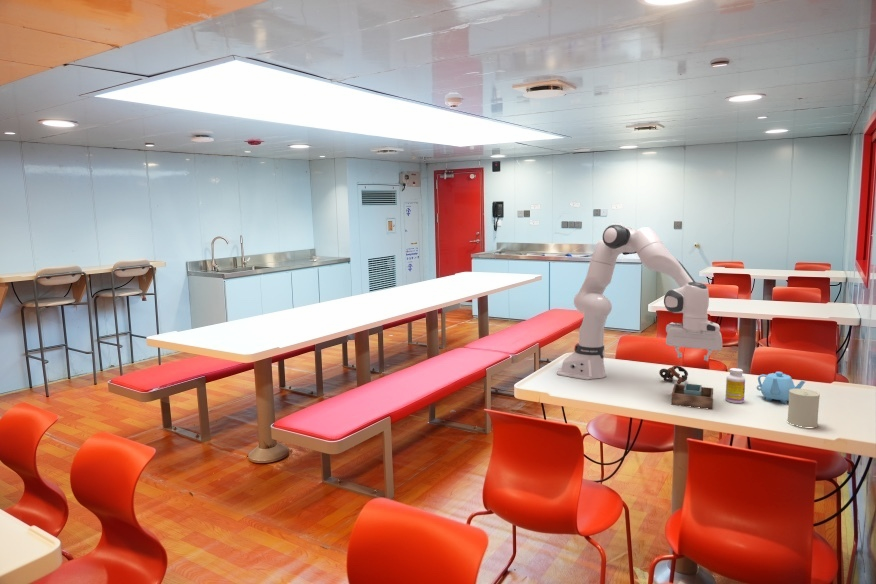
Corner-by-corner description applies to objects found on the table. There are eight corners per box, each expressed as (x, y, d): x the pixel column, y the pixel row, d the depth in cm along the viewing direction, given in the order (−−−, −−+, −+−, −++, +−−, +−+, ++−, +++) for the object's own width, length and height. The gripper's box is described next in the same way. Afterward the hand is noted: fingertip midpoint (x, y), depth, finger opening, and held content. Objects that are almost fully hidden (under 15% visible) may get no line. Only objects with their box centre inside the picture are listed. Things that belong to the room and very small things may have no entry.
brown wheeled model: (677, 378, 263) (685, 365, 259) (683, 393, 256) (693, 379, 251) (652, 373, 262) (661, 359, 258) (659, 387, 254) (667, 373, 250)
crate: (671, 404, 225) (671, 393, 225) (674, 394, 238) (674, 384, 237) (711, 409, 219) (712, 398, 218) (712, 399, 231) (713, 388, 231)
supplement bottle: (745, 404, 224) (747, 372, 223) (726, 402, 227) (728, 370, 225) (742, 399, 231) (744, 368, 229) (724, 397, 233) (725, 366, 231)
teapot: (807, 405, 222) (809, 377, 221) (772, 406, 222) (774, 377, 221) (783, 393, 238) (785, 367, 236) (750, 394, 237) (752, 367, 236)
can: (789, 426, 200) (792, 393, 198) (784, 418, 208) (786, 386, 207) (820, 429, 197) (823, 395, 195) (814, 421, 205) (816, 388, 204)
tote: (700, 404, 223) (700, 391, 222) (683, 402, 225) (683, 389, 225) (701, 397, 231) (701, 385, 231) (684, 395, 234) (685, 383, 233)
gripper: (665, 323, 226) (663, 357, 228) (723, 327, 217) (720, 363, 218) (667, 320, 232) (665, 354, 233) (723, 325, 222) (721, 360, 224)
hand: (692, 359), depth 226 cm, fingers open, 8 cm apart
